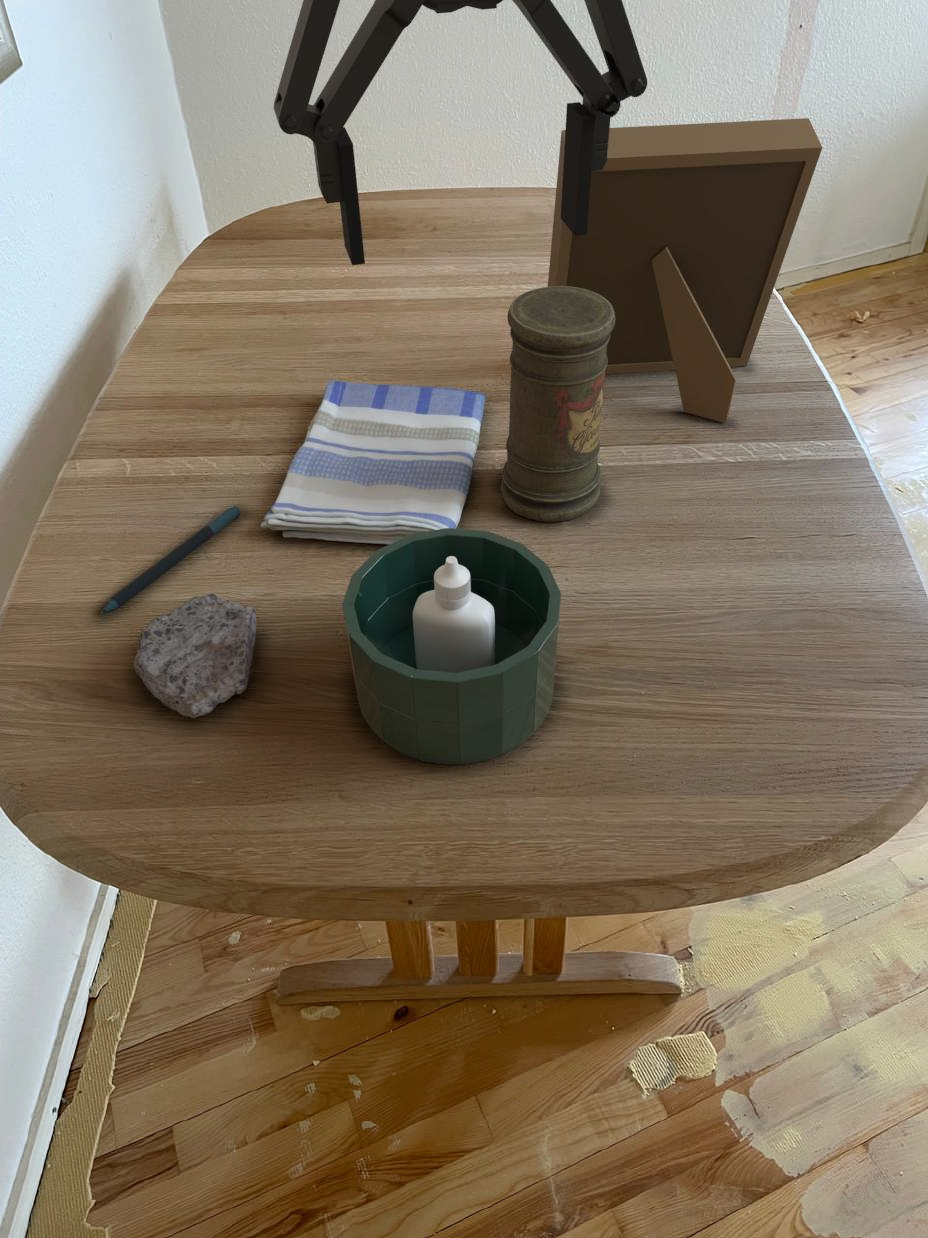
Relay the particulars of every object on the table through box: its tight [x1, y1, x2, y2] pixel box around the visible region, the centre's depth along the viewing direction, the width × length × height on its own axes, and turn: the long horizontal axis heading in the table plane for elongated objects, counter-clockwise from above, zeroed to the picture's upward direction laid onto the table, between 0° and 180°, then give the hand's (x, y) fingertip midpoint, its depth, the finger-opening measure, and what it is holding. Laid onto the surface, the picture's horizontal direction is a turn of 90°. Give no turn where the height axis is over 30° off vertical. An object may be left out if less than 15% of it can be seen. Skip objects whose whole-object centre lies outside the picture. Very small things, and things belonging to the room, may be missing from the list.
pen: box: [101, 505, 241, 614], centre depth 78 cm, size 1×16×1 cm, turn 146°
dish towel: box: [260, 380, 487, 545], centre depth 86 cm, size 17×24×3 cm
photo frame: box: [547, 117, 823, 423], centre depth 87 cm, size 15×22×25 cm
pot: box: [341, 528, 562, 766], centre depth 65 cm, size 15×15×9 cm
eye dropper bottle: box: [413, 556, 495, 673], centre depth 63 cm, size 4×6×12 cm
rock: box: [133, 593, 258, 719], centre depth 68 cm, size 9×11×4 cm
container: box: [500, 286, 615, 523], centre depth 77 cm, size 9×9×18 cm
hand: (466, 240), depth 55 cm, fingers open, 13 cm apart
